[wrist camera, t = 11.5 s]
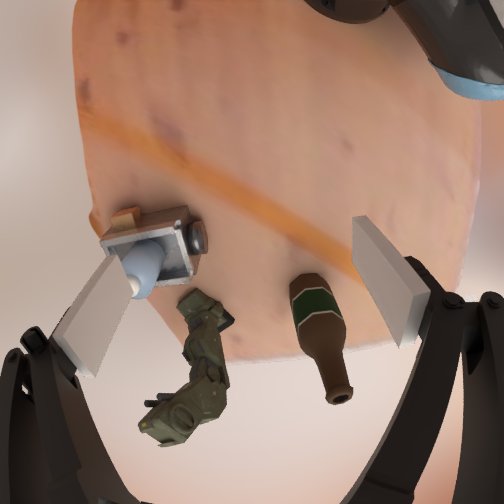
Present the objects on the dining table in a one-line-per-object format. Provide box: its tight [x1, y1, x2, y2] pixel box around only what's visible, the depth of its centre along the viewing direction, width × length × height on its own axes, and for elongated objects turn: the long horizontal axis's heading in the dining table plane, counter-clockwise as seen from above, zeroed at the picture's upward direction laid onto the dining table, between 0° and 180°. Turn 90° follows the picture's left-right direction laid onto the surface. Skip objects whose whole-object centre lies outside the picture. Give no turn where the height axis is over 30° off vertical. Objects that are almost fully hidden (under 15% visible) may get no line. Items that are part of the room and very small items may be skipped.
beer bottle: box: [290, 273, 353, 405], centre depth 40 cm, size 8×8×24 cm
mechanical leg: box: [138, 288, 235, 447], centre depth 40 cm, size 14×7×30 cm, turn 41°
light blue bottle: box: [121, 239, 165, 299], centre depth 36 cm, size 6×6×8 cm
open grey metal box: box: [100, 205, 208, 288], centre depth 41 cm, size 15×11×8 cm
